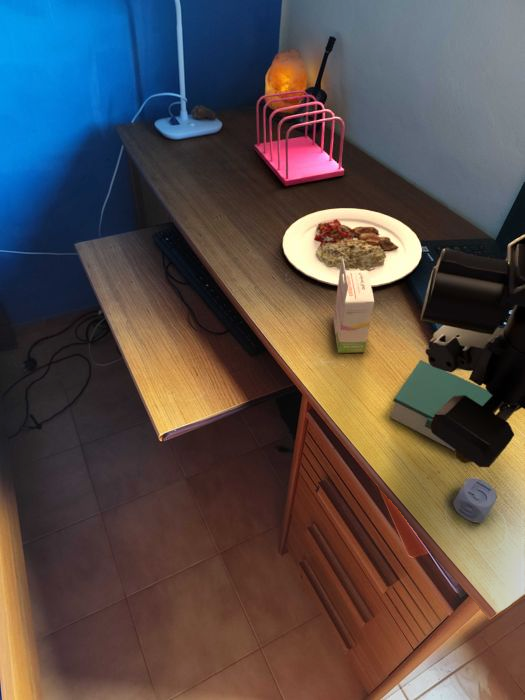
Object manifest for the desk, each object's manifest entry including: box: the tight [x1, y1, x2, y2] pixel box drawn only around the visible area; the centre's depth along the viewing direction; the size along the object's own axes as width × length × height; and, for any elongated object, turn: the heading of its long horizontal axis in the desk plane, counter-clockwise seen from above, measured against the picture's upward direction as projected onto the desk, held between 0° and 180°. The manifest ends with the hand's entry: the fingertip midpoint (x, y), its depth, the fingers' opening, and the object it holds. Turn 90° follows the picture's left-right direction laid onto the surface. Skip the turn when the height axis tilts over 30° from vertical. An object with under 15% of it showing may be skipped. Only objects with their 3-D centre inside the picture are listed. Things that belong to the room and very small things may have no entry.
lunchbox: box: [390, 359, 492, 452], centre depth 70 cm, size 12×10×5 cm
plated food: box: [282, 207, 423, 288], centre depth 102 cm, size 30×30×3 cm
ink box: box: [333, 257, 375, 354], centre depth 79 cm, size 9×5×15 cm, turn 179°
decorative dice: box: [452, 477, 498, 523], centre depth 60 cm, size 4×4×4 cm
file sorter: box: [254, 89, 345, 187], centre depth 128 cm, size 17×25×16 cm
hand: (482, 435), depth 53 cm, fingers open, 9 cm apart
